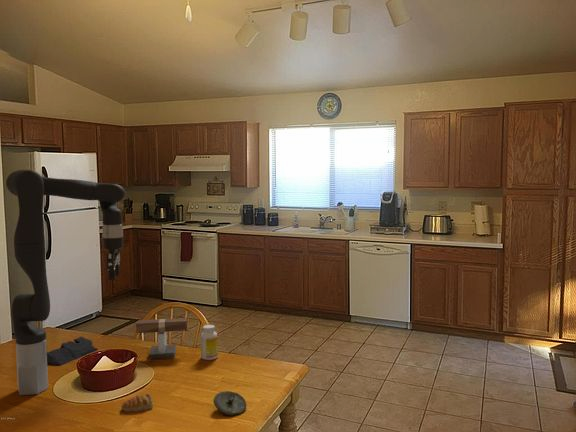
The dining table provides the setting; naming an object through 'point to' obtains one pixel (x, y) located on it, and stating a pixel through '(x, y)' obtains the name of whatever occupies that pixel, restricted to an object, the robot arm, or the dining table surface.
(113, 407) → the dining table surface
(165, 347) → the ridge stand
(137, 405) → the pastry
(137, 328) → the batten
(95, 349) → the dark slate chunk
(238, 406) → the lid
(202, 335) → the supplement bottle
